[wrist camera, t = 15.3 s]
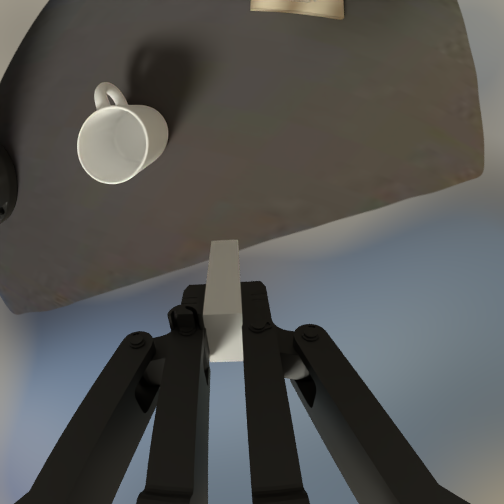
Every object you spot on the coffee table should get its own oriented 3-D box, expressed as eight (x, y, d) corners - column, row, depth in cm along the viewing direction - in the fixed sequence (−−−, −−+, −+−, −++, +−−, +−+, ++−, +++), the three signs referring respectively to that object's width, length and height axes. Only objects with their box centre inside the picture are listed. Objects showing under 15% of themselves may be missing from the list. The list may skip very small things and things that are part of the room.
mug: (95, 98, 32) (56, 99, 23) (148, 70, 32) (120, 60, 22) (125, 174, 38) (95, 196, 29) (179, 150, 37) (161, 165, 28)
